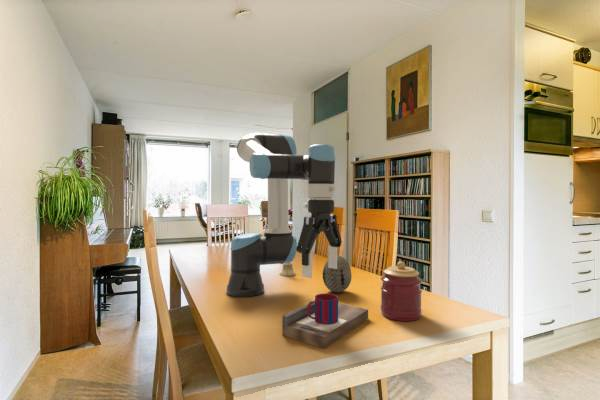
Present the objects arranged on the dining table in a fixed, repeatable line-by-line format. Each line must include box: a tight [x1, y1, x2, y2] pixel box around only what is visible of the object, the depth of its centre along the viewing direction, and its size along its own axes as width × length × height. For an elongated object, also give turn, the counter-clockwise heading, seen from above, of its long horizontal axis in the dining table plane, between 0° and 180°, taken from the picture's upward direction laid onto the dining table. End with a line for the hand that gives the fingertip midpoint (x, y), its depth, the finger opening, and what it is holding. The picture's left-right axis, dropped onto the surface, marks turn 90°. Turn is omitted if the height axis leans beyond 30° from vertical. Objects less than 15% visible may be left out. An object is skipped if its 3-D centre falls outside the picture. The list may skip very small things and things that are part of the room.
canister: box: [380, 260, 423, 322], centre depth 111 cm, size 13×13×18 cm
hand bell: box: [279, 262, 297, 277], centre depth 168 cm, size 8×8×16 cm
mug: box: [307, 293, 339, 324], centre depth 97 cm, size 7×10×7 cm
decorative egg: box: [322, 254, 352, 293], centre depth 137 cm, size 12×12×15 cm
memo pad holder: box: [281, 302, 369, 349], centre depth 101 cm, size 14×26×6 cm, turn 144°
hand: (320, 272), depth 98 cm, fingers open, 13 cm apart
